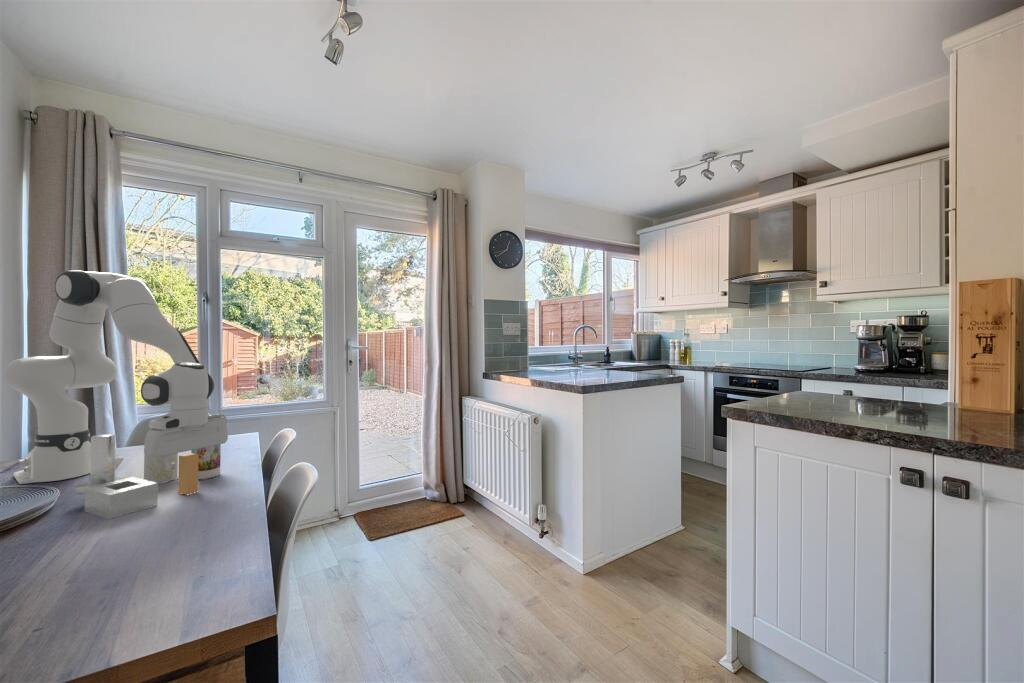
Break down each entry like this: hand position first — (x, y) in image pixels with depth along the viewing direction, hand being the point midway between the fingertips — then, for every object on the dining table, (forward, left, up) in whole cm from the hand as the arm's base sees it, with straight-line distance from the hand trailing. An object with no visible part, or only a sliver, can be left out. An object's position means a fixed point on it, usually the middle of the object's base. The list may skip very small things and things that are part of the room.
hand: (188, 465), depth 120 cm
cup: (-20, +3, -8) cm, 22 cm away
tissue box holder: (-8, -14, -8) cm, 18 cm away
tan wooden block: (0, 0, -8) cm, 8 cm away
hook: (-24, -8, -8) cm, 27 cm away
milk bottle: (-11, +11, -8) cm, 18 cm away
